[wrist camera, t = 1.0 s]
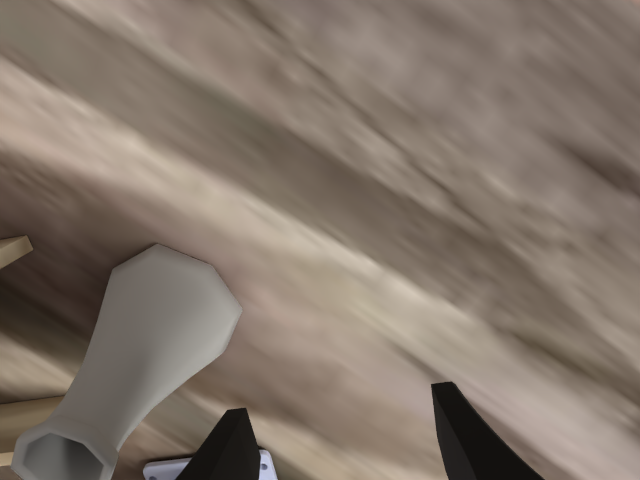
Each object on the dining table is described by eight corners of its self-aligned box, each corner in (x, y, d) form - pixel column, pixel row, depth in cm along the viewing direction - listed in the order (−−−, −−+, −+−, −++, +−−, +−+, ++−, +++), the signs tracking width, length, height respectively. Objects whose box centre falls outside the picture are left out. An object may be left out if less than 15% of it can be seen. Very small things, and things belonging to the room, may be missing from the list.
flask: (79, 311, 23) (-94, 469, 14) (154, 217, 21) (11, 328, 12) (187, 386, 25) (98, 574, 15) (268, 305, 23) (220, 466, 13)
